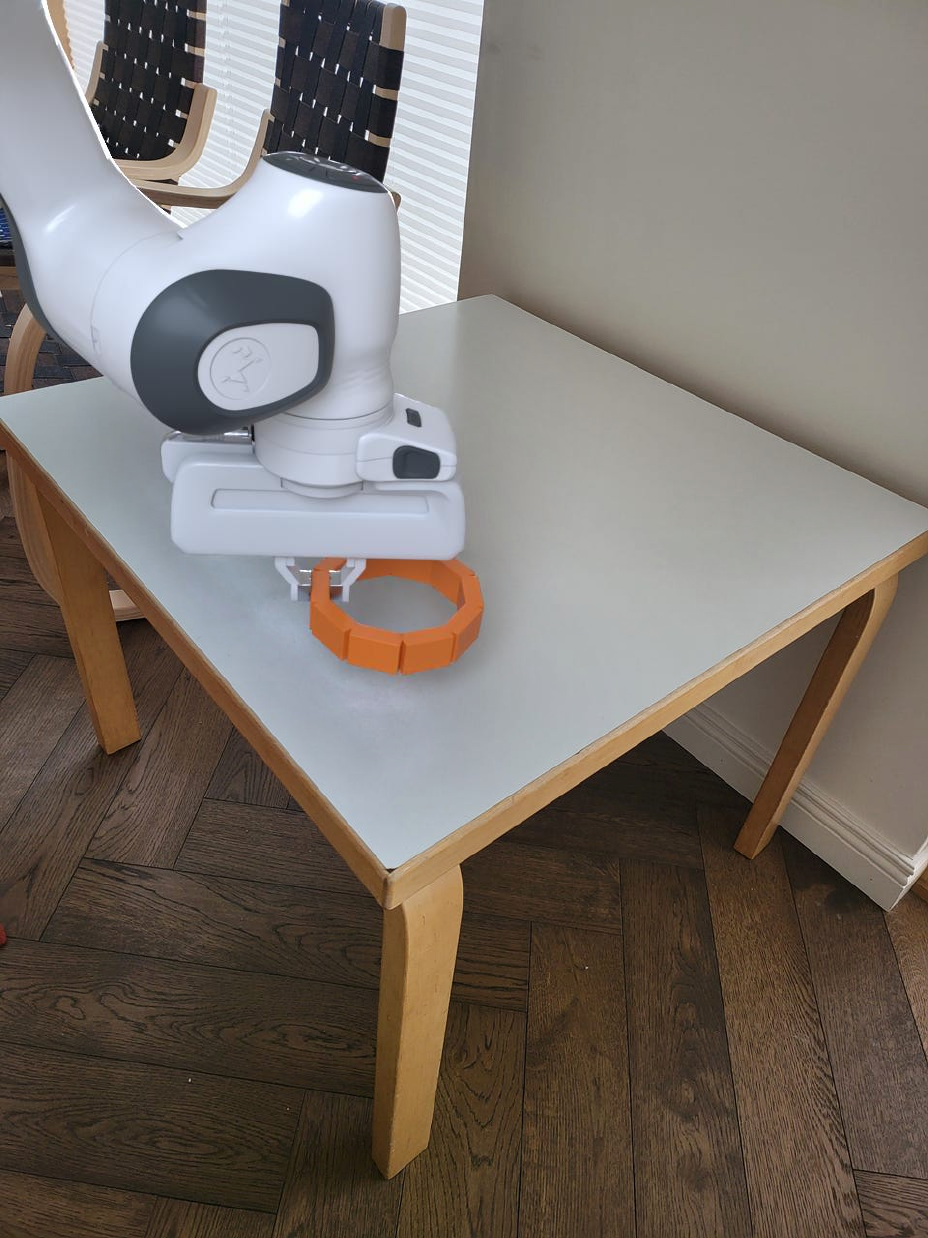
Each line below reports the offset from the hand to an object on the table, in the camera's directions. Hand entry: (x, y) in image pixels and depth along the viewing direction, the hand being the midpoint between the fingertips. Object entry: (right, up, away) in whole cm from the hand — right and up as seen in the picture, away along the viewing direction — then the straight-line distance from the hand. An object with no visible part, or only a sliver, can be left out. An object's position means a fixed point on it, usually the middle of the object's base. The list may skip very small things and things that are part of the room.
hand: (320, 596), depth 68 cm
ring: (+5, -2, +2) cm, 6 cm away
